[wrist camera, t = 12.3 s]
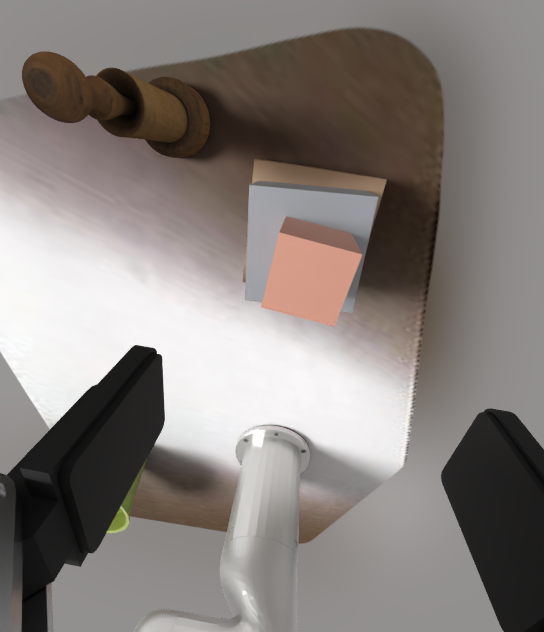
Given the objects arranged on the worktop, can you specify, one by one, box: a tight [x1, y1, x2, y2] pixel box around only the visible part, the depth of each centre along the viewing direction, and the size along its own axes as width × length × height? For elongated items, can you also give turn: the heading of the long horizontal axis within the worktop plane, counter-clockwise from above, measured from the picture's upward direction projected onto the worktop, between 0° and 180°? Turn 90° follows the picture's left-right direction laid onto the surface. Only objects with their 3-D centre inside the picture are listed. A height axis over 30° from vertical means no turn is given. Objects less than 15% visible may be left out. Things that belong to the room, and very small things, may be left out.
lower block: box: [243, 159, 387, 282], centre depth 32 cm, size 12×12×5 cm
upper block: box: [245, 181, 378, 313], centre depth 28 cm, size 10×10×5 cm
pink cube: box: [261, 216, 363, 326], centre depth 23 cm, size 6×6×6 cm
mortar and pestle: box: [22, 52, 210, 158], centre depth 23 cm, size 7×6×18 cm
